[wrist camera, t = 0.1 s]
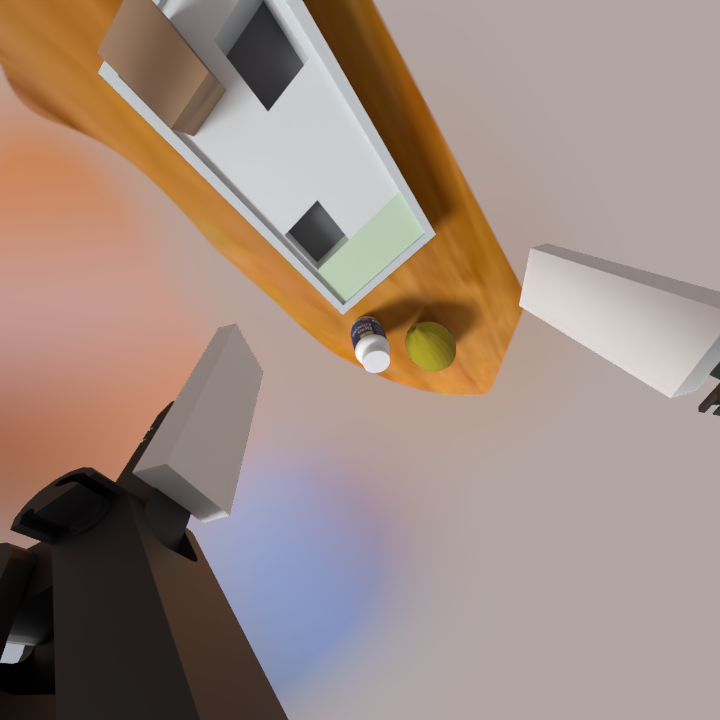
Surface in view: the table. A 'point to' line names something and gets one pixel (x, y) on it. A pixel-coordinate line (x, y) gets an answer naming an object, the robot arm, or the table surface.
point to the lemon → (430, 346)
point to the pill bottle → (370, 344)
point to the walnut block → (160, 66)
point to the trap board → (293, 145)
